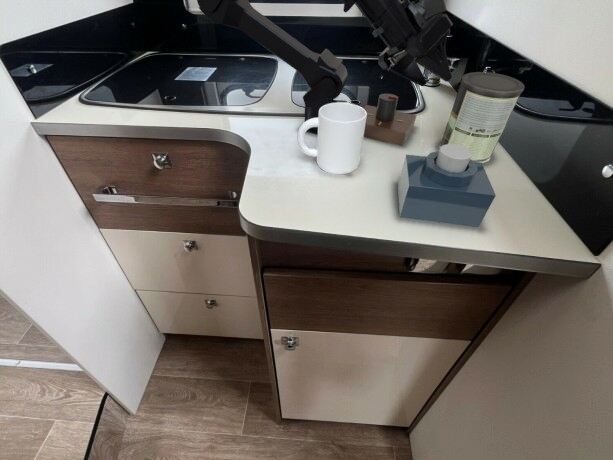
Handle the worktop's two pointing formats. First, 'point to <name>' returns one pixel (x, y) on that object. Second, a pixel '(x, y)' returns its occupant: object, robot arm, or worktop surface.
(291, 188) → the worktop surface
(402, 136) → the dial panel
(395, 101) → the dial
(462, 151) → the push button
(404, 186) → the button base
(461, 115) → the coffee can
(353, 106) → the mug
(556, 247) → the worktop surface
